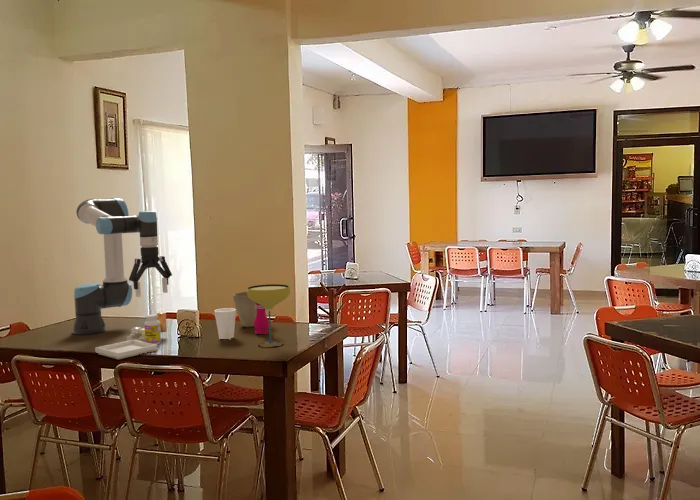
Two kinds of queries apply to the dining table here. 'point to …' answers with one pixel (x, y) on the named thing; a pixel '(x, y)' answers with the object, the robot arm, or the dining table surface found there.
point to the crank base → (135, 338)
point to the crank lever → (140, 332)
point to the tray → (126, 349)
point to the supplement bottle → (152, 330)
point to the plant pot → (245, 309)
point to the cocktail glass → (268, 298)
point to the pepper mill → (261, 320)
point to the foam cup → (225, 322)
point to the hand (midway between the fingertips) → (151, 294)
